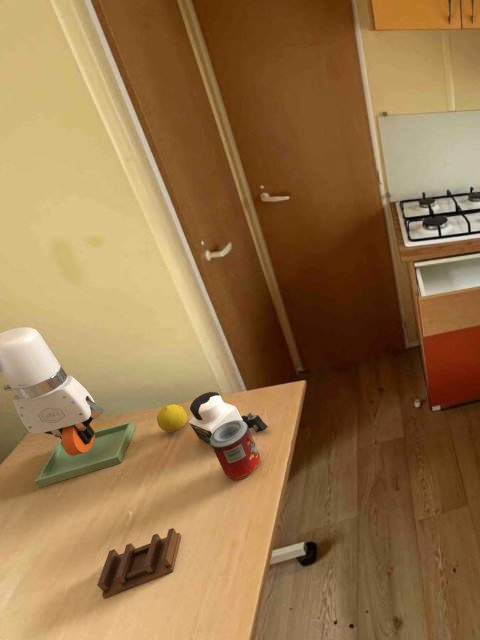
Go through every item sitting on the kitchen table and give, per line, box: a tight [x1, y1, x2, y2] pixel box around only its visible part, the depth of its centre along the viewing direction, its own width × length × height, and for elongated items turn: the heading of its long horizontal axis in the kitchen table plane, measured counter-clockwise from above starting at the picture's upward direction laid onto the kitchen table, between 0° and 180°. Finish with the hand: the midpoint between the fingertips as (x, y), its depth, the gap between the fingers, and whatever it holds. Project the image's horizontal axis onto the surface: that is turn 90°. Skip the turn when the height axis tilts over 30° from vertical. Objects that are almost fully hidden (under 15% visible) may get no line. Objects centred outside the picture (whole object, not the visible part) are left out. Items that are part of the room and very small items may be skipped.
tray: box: [34, 420, 136, 488], centre depth 98 cm, size 14×11×2 cm
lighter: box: [240, 412, 269, 433], centre depth 104 cm, size 8×2×5 cm
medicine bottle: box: [188, 391, 243, 446], centre depth 101 cm, size 7×7×12 cm
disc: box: [62, 422, 95, 456], centre depth 96 cm, size 2×8×8 cm, turn 25°
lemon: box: [156, 403, 188, 433], centre depth 103 cm, size 6×6×8 cm
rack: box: [96, 527, 182, 599], centre depth 77 cm, size 10×7×4 cm
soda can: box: [209, 420, 261, 480], centre depth 93 cm, size 7×7×12 cm
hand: (82, 441), depth 97 cm, fingers closed on disc, 2 cm apart
